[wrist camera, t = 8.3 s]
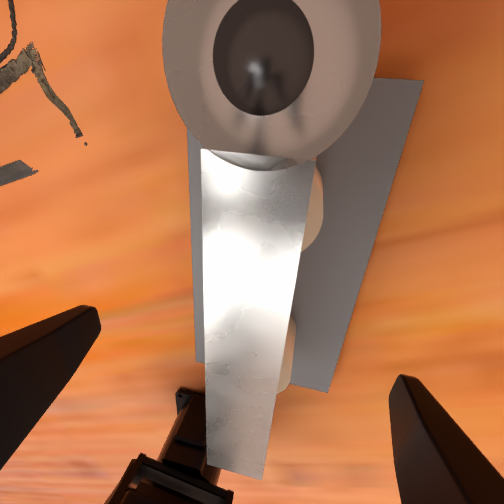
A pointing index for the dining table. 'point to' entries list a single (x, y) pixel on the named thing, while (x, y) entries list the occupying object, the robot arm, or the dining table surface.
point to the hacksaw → (15, 68)
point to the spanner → (259, 178)
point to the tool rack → (328, 231)
